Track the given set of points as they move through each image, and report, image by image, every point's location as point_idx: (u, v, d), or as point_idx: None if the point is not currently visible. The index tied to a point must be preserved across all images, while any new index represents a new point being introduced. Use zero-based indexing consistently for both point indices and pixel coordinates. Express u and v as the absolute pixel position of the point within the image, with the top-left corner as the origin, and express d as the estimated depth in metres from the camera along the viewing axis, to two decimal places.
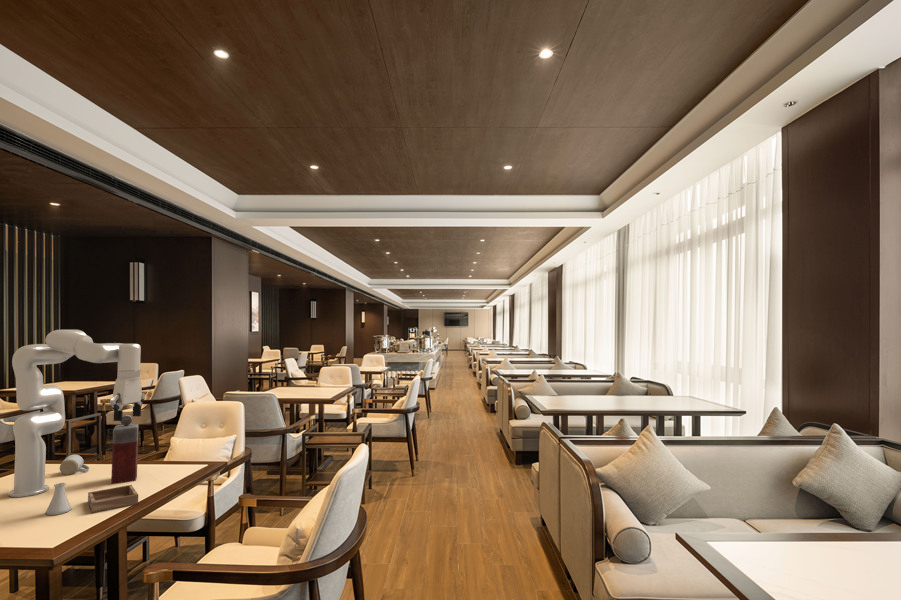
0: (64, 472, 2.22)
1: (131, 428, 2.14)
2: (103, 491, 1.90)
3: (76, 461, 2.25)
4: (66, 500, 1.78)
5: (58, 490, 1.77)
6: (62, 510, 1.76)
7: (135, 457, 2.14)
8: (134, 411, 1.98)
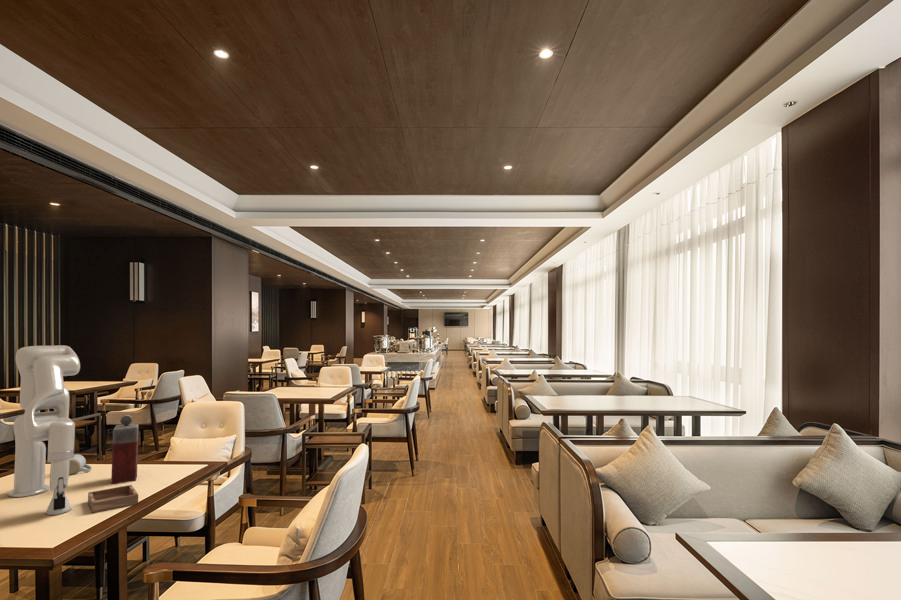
0: None
1: (131, 428, 2.14)
2: (103, 491, 1.90)
3: (78, 461, 2.25)
4: (66, 500, 1.78)
5: None
6: (62, 509, 1.76)
7: (135, 457, 2.14)
8: None
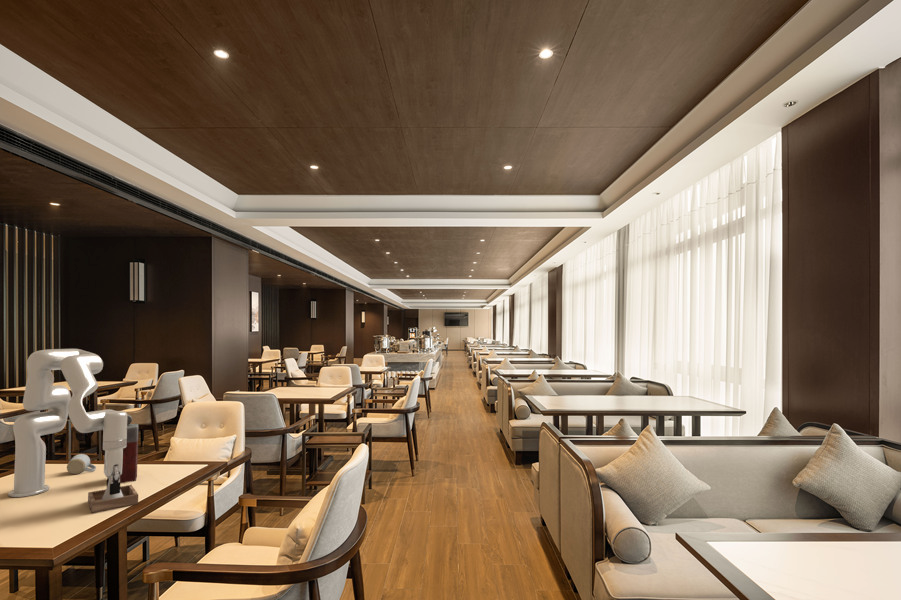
0: (71, 471, 2.23)
1: (131, 428, 2.14)
2: (103, 491, 1.90)
3: (83, 460, 2.26)
4: None
5: None
6: None
7: (135, 457, 2.14)
8: None
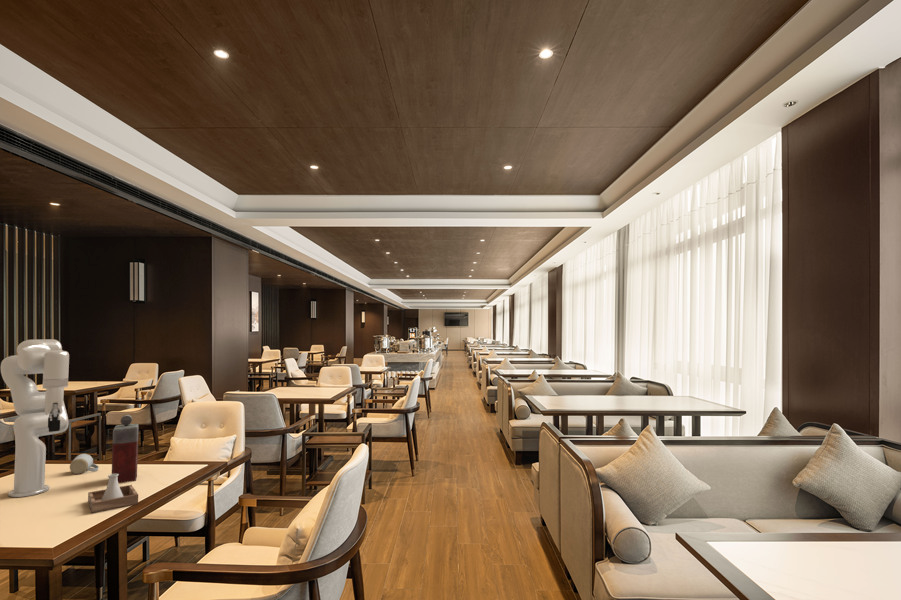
0: (74, 471, 2.24)
1: (131, 428, 2.14)
2: (103, 491, 1.90)
3: (86, 460, 2.26)
4: (119, 490, 1.87)
5: (112, 480, 1.86)
6: None
7: (135, 457, 2.14)
8: None
